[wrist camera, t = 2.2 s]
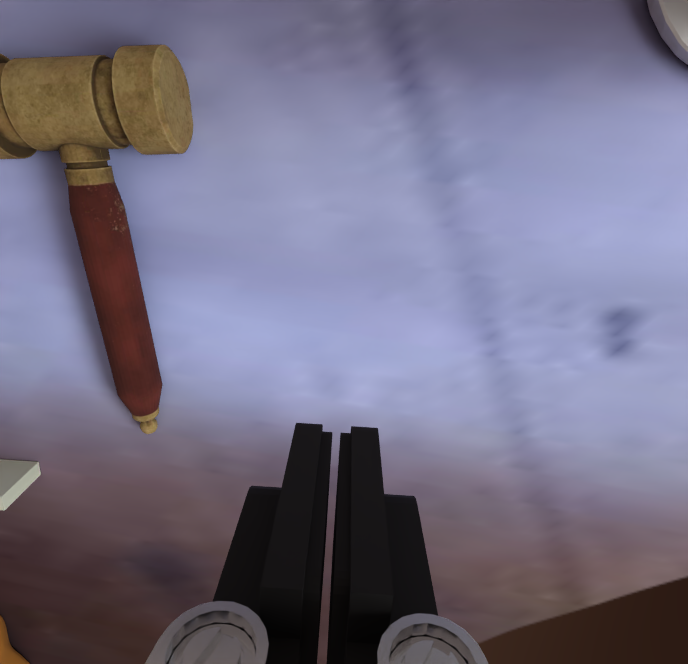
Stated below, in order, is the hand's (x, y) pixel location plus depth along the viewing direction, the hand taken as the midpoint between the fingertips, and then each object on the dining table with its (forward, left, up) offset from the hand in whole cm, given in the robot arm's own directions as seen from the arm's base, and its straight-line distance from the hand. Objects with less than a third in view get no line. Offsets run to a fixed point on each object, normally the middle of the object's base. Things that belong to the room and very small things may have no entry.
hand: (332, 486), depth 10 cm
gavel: (+13, 0, -19) cm, 23 cm away
